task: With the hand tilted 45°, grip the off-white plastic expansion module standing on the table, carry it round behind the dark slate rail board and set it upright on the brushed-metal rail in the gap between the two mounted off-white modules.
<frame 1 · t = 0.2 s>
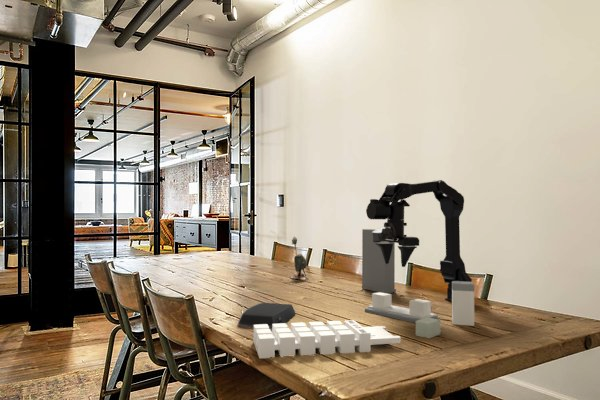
hand: (395, 265, 162), 15 cm above the table, fingers open, 9 cm apart
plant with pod: (299, 279, 225), on the table
rail board: (400, 314, 152), on the table
dark grey faceted block: (267, 322, 145), on the table
tall upright grey panel: (378, 291, 195), on the table
organizer: (326, 348, 118), on the table
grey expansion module: (462, 322, 142), on the table
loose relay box: (428, 335, 129), on the table
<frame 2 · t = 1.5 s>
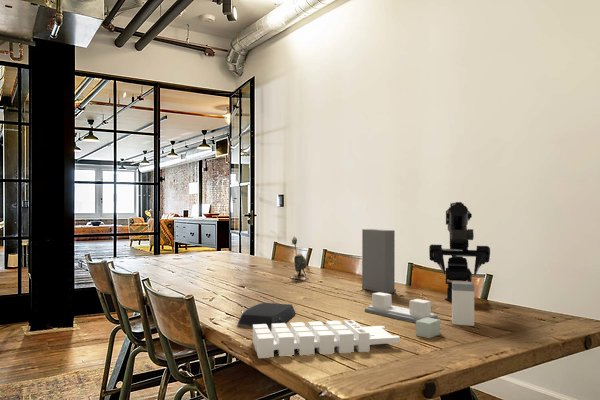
hand: (459, 274, 150), 13 cm above the table, fingers open, 9 cm apart
nothing on the table moved.
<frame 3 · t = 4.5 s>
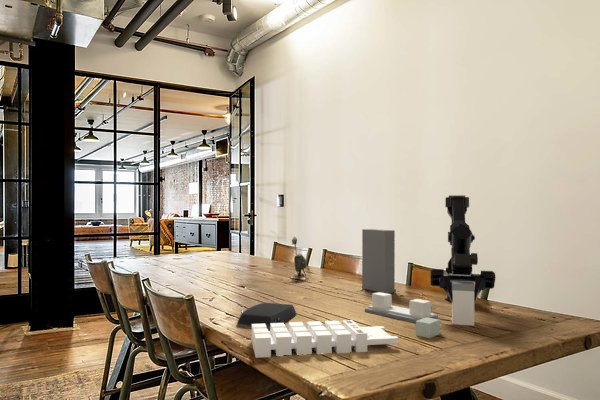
hand: (463, 301, 140), 7 cm above the table, fingers closed on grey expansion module, 6 cm apart
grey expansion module: (462, 322, 142), on the table, touching gripper
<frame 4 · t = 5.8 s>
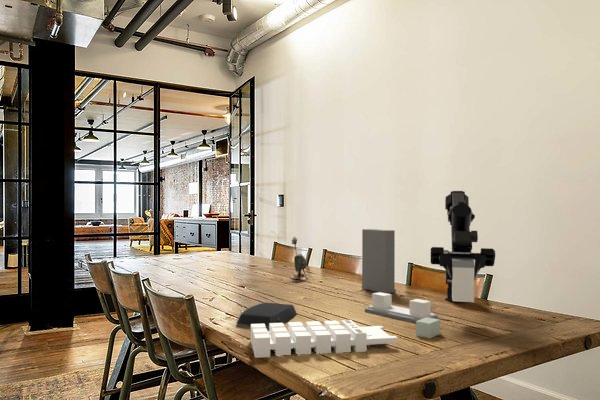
hand: (463, 278, 140), 13 cm above the table, fingers closed on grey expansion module, 6 cm apart
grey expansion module: (462, 300, 142), point 7 cm above the table, touching gripper
everything else where it was.
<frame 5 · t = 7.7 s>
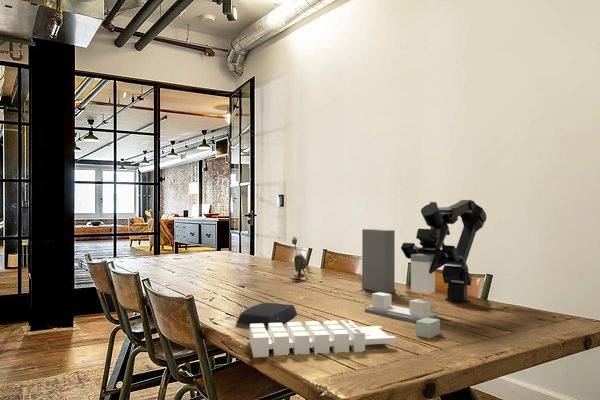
hand: (420, 271, 154), 13 cm above the table, fingers closed on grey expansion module, 6 cm apart
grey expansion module: (422, 291, 155), point 7 cm above the table, touching gripper
when the fingers open (9 cm above the table, at t = 10.8 s): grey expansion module drops 1 cm, resting on rail board.
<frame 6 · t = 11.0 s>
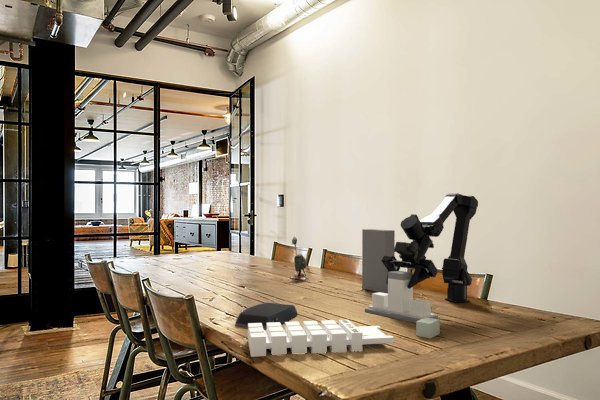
hand: (397, 286, 151), 9 cm above the table, fingers open, 8 cm apart
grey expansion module: (400, 309, 152), point 2 cm above the table, touching rail board
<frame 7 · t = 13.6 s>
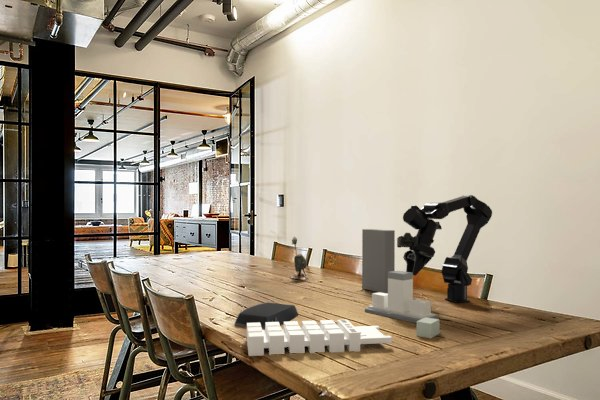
hand: (410, 276, 162), 11 cm above the table, fingers open, 9 cm apart
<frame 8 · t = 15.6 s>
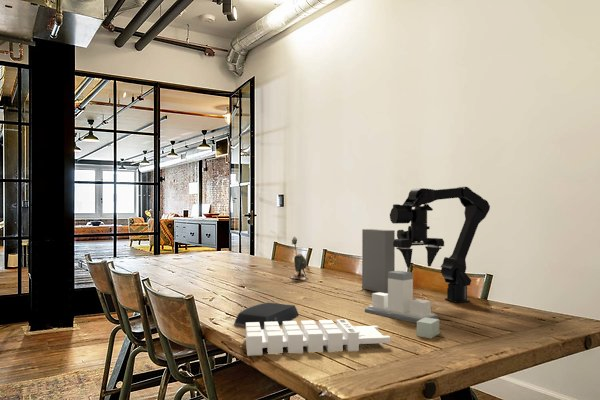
hand: (418, 267, 170), 13 cm above the table, fingers open, 9 cm apart
at the end: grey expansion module 0.0 cm off-centre on the rail board, point 1.6 cm above the rail board's base; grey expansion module tilted 0°; the gripper is holding nothing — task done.
